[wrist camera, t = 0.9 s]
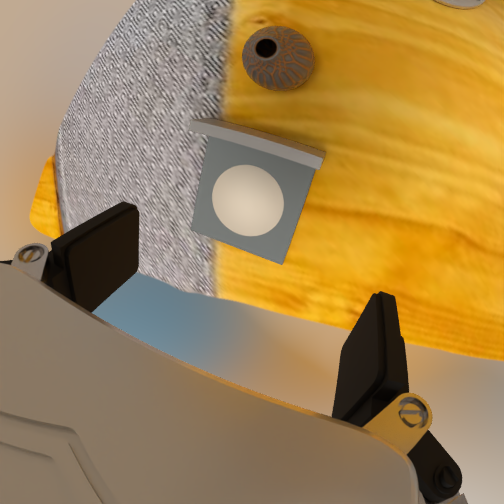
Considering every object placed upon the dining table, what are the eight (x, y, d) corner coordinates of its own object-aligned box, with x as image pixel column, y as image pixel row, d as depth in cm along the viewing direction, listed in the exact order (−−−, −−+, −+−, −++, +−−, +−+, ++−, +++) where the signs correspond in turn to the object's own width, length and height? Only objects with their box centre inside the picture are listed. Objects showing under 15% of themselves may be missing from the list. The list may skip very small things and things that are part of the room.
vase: (244, 56, 28) (212, 40, 20) (296, 26, 25) (279, -1, 17) (275, 103, 30) (251, 100, 22) (329, 75, 27) (324, 61, 19)
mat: (210, 135, 33) (208, 135, 33) (316, 168, 32) (315, 168, 31) (192, 228, 40) (190, 230, 39) (282, 263, 38) (281, 265, 38)
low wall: (210, 117, 32) (190, 119, 28) (326, 152, 30) (323, 158, 26) (208, 127, 33) (188, 130, 29) (322, 162, 31) (319, 170, 27)
